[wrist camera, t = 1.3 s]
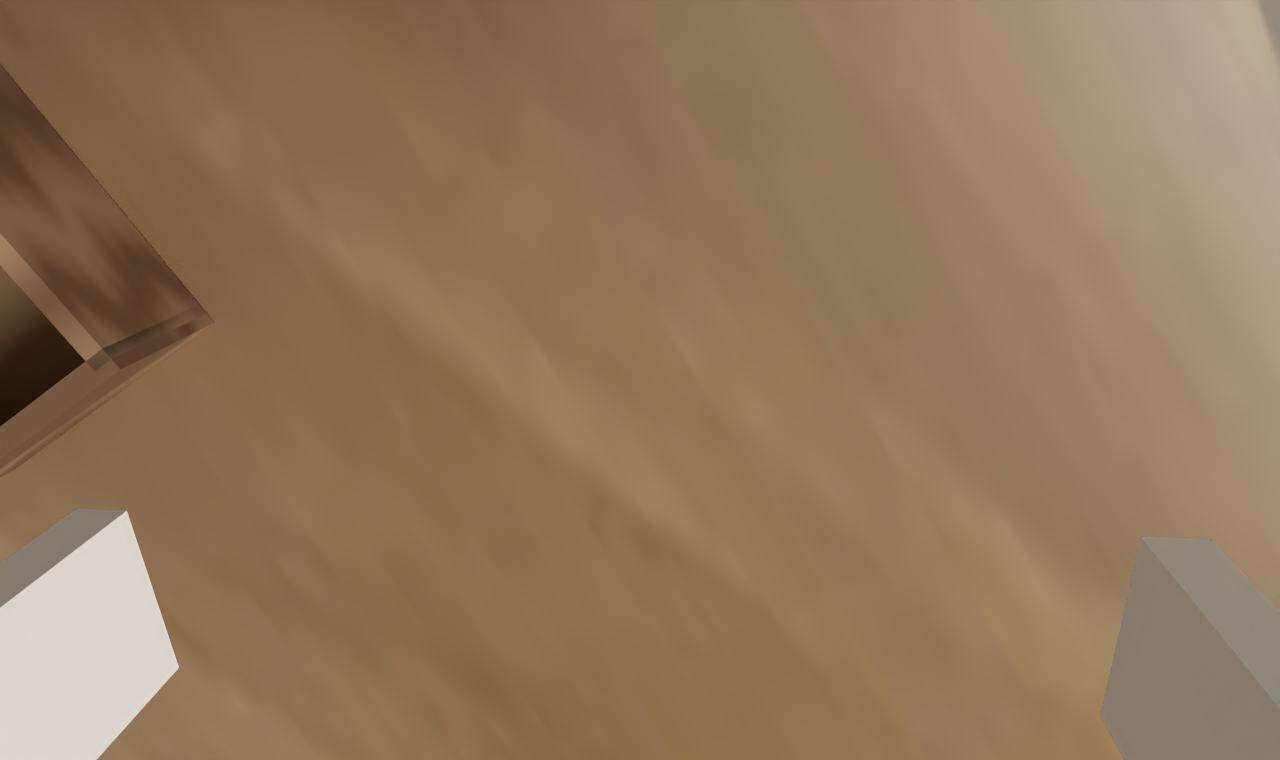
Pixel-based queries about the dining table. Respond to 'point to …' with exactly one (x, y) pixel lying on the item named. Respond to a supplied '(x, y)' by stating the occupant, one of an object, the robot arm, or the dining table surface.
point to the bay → (79, 277)
